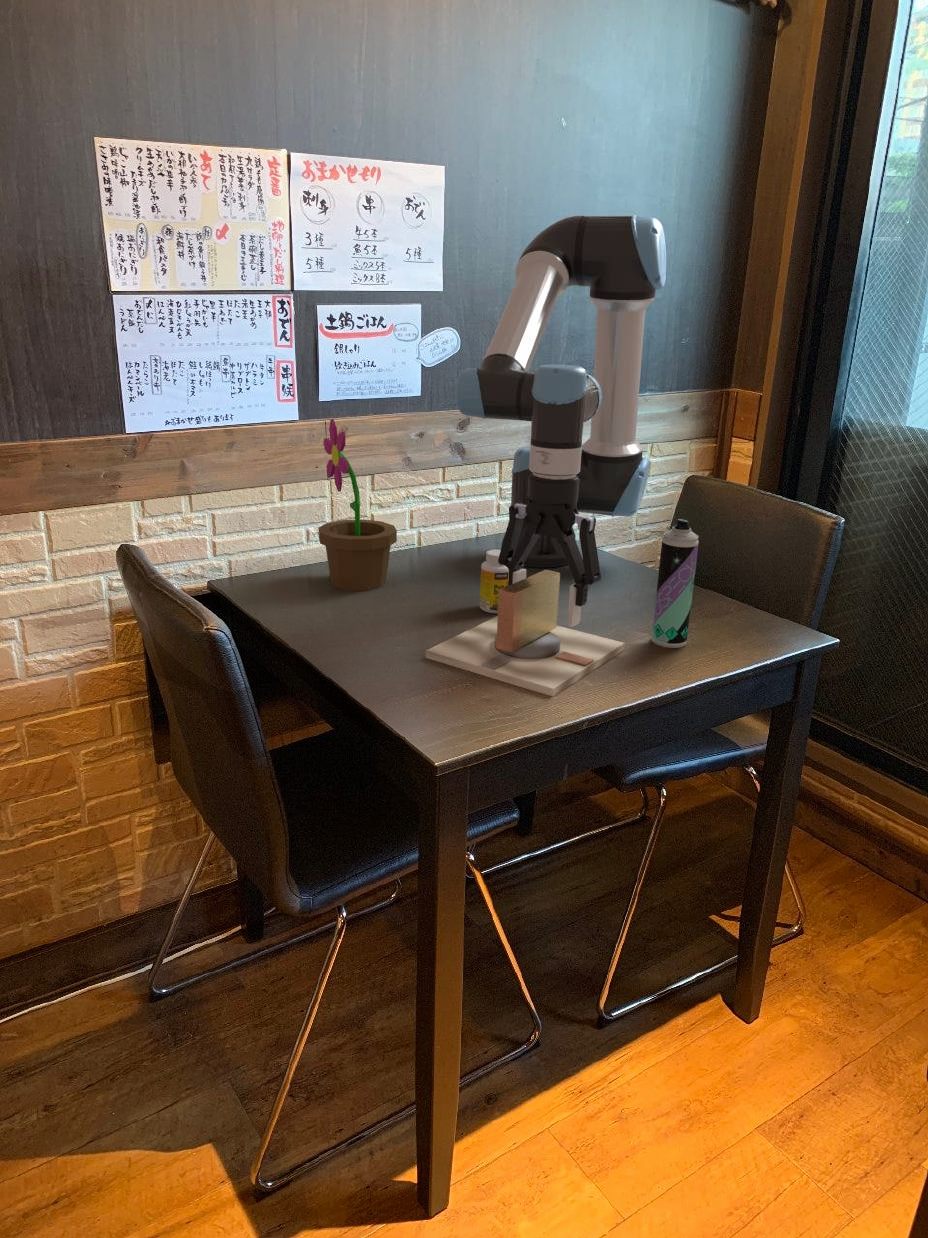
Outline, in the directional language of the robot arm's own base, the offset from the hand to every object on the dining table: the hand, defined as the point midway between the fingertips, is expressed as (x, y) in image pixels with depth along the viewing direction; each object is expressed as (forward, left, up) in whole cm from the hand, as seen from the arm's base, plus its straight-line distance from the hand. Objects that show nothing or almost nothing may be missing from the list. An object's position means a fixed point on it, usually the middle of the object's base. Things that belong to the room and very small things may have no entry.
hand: (545, 617), depth 145 cm
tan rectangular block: (+5, 0, -2) cm, 5 cm away
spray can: (-14, +15, -5) cm, 21 cm away
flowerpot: (-5, -43, -5) cm, 44 cm away
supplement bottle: (-9, -15, -5) cm, 18 cm away
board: (+5, 0, -5) cm, 7 cm away
